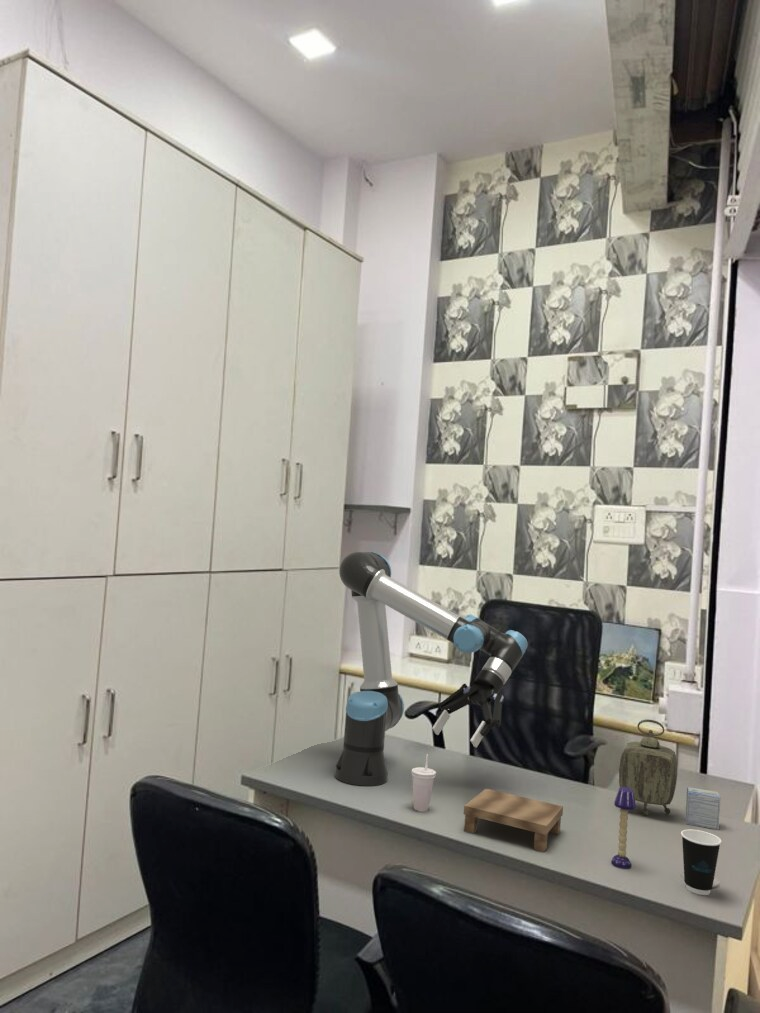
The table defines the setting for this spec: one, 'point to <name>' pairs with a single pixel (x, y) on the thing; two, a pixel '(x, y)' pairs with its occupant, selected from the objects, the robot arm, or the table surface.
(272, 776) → the table surface
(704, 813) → the medicine box
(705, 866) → the dixie cup
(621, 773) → the tabletop clock
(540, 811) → the step stool
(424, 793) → the smoothie
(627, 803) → the toy lamp
